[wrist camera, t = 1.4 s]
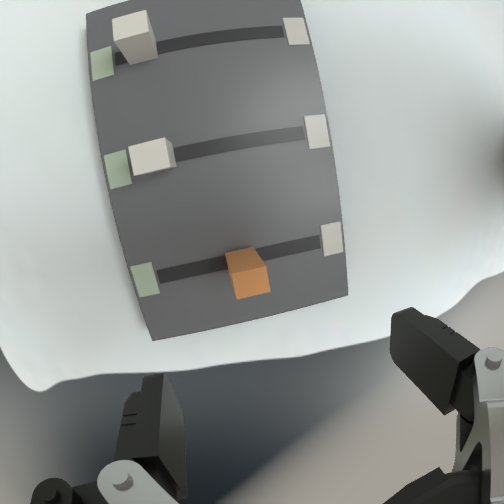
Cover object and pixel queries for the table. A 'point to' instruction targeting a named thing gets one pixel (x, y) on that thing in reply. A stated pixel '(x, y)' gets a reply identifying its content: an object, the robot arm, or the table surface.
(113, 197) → the panel
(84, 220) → the table surface
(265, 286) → the block
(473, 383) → the robot arm
